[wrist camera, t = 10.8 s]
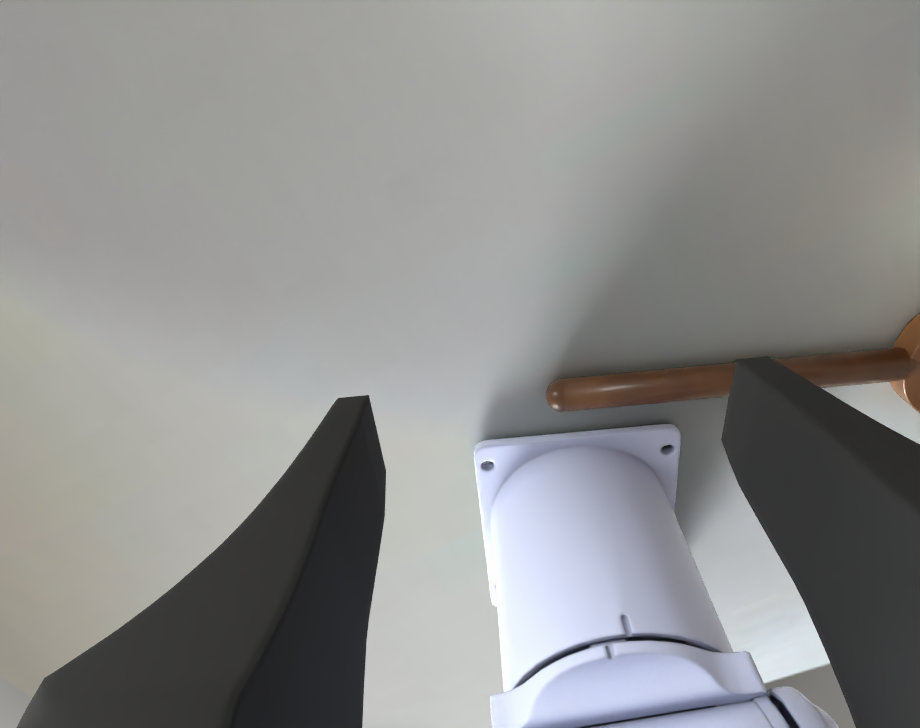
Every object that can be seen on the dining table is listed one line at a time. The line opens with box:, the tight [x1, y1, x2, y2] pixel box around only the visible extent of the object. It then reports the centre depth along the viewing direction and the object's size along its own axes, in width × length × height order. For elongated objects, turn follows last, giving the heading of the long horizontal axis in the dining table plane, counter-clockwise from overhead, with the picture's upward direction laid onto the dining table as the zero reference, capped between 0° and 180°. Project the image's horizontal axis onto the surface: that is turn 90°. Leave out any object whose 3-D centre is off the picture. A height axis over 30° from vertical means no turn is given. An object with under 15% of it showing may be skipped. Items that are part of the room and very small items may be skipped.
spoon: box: [546, 313, 920, 413], centre depth 22 cm, size 18×5×1 cm, turn 96°
